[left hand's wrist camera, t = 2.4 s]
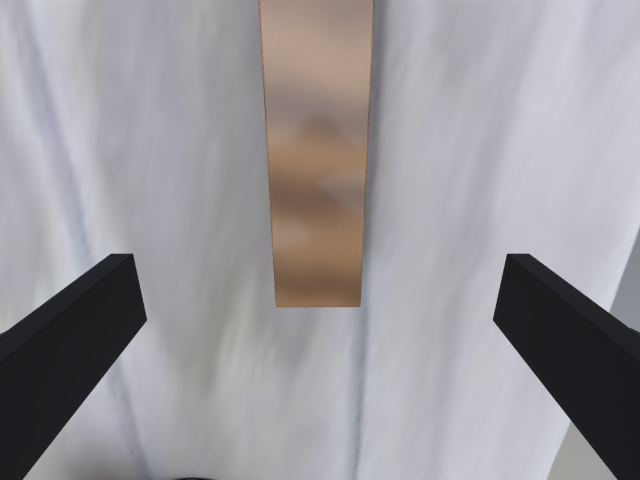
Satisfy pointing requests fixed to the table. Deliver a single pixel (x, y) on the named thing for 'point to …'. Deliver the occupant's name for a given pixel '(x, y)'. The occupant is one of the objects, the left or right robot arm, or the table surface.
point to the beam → (317, 145)
